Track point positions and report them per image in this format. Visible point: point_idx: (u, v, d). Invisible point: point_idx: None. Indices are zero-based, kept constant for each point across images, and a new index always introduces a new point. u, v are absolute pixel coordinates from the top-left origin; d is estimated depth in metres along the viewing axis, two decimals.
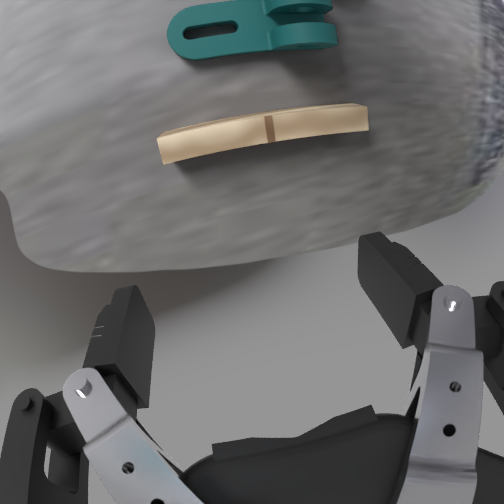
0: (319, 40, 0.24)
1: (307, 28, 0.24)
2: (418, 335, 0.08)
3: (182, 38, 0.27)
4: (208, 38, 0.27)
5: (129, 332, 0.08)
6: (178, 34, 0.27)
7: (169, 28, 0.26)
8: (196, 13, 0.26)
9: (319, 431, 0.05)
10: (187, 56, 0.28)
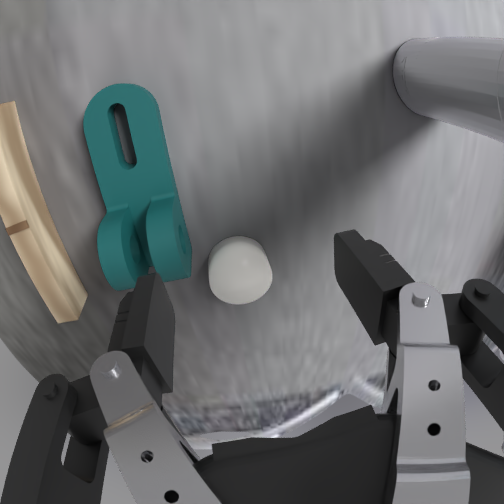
0: (107, 277, 0.24)
1: (117, 262, 0.23)
2: (388, 332, 0.08)
3: (109, 104, 0.22)
4: (109, 136, 0.23)
5: (155, 317, 0.09)
6: (114, 98, 0.22)
7: (123, 85, 0.21)
8: (143, 116, 0.23)
9: (319, 431, 0.05)
10: (86, 114, 0.22)
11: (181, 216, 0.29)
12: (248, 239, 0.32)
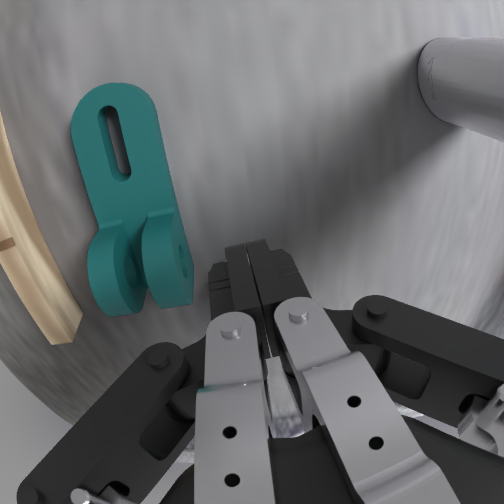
0: (99, 304, 0.21)
1: (110, 288, 0.20)
2: (277, 345, 0.08)
3: (99, 107, 0.19)
4: (100, 143, 0.20)
5: None
6: (105, 100, 0.19)
7: (115, 85, 0.18)
8: (138, 121, 0.20)
9: (319, 431, 0.05)
10: (74, 118, 0.19)
11: (182, 233, 0.26)
12: None
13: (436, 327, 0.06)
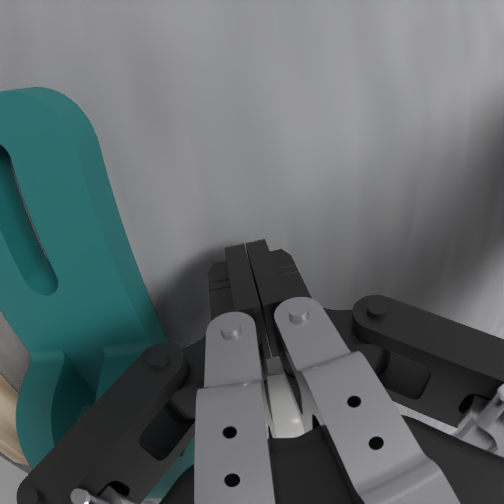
0: None
1: None
2: (277, 345, 0.08)
3: None
4: None
5: None
6: None
7: (2, 97, 0.06)
8: (51, 176, 0.08)
9: (319, 432, 0.05)
10: None
11: None
12: None
13: (436, 327, 0.06)
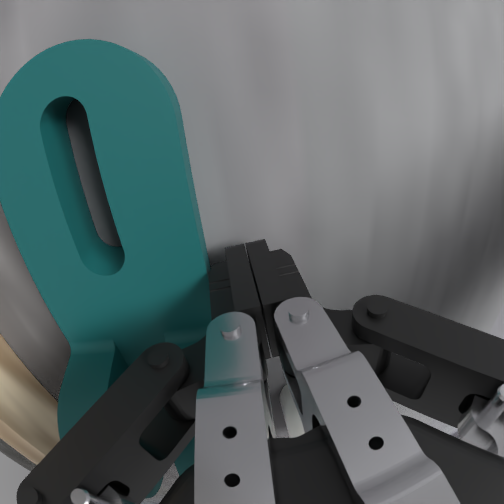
0: None
1: None
2: (277, 345, 0.08)
3: (44, 101, 0.07)
4: (49, 190, 0.08)
5: None
6: (58, 83, 0.07)
7: (84, 45, 0.06)
8: (139, 137, 0.08)
9: (319, 431, 0.05)
10: None
11: None
12: None
13: (436, 327, 0.06)
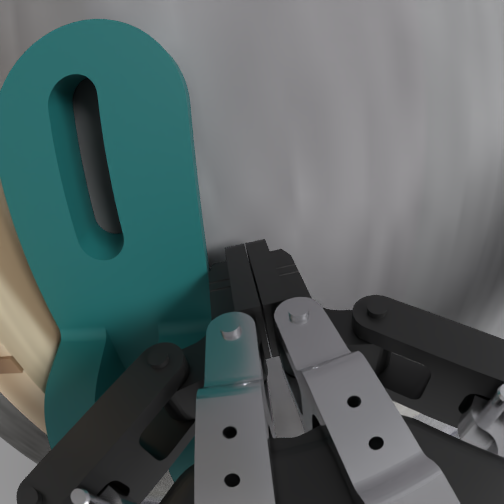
0: None
1: None
2: (277, 345, 0.08)
3: (54, 78, 0.06)
4: (52, 168, 0.08)
5: None
6: (70, 61, 0.06)
7: (100, 25, 0.06)
8: (148, 119, 0.08)
9: (319, 432, 0.05)
10: None
11: None
12: None
13: (436, 327, 0.06)
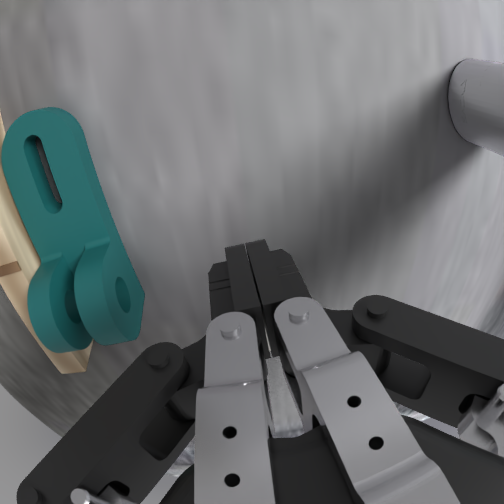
0: (43, 343, 0.18)
1: (50, 328, 0.17)
2: (277, 345, 0.08)
3: (24, 137, 0.16)
4: (29, 175, 0.17)
5: None
6: (28, 129, 0.16)
7: (36, 112, 0.15)
8: (62, 148, 0.17)
9: (319, 431, 0.05)
10: (3, 152, 0.16)
11: (124, 262, 0.23)
12: None
13: (437, 327, 0.06)
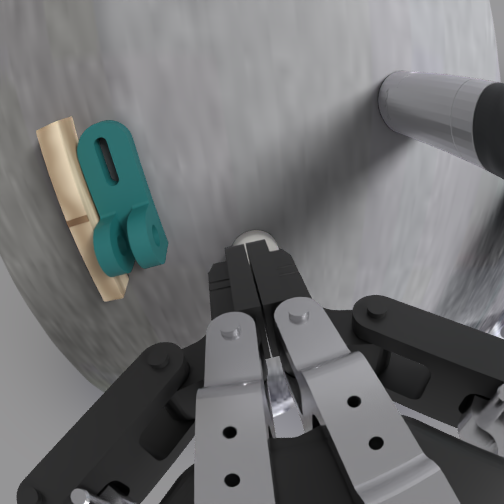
0: (101, 266, 0.32)
1: (108, 255, 0.32)
2: (277, 345, 0.08)
3: (94, 138, 0.30)
4: (97, 162, 0.32)
5: None
6: (98, 134, 0.30)
7: (103, 124, 0.29)
8: (120, 146, 0.31)
9: (319, 431, 0.05)
10: (78, 147, 0.30)
11: (156, 218, 0.37)
12: (263, 232, 0.41)
13: (436, 327, 0.06)
